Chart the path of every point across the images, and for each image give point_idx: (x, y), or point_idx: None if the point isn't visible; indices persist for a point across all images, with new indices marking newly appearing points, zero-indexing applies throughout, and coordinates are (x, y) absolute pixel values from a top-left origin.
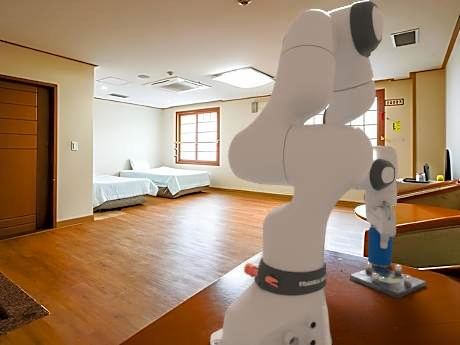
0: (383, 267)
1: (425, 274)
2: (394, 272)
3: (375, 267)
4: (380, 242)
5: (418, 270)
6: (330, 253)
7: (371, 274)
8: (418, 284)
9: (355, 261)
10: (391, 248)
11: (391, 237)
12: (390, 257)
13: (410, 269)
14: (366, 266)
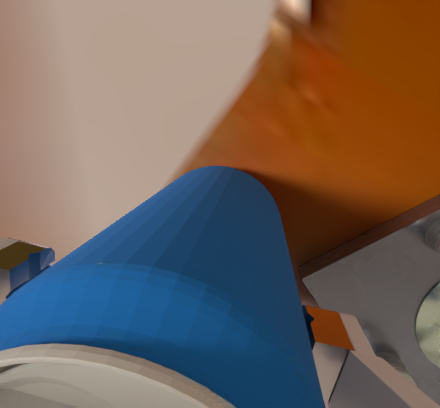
0: (334, 265)
1: (390, 11)
2: (420, 244)
3: (331, 306)
4: (337, 400)
5: (316, 22)
6: None
7: (430, 370)
8: None
9: None
10: (262, 216)
11: (275, 282)
12: (270, 205)
13: (297, 72)
14: None
